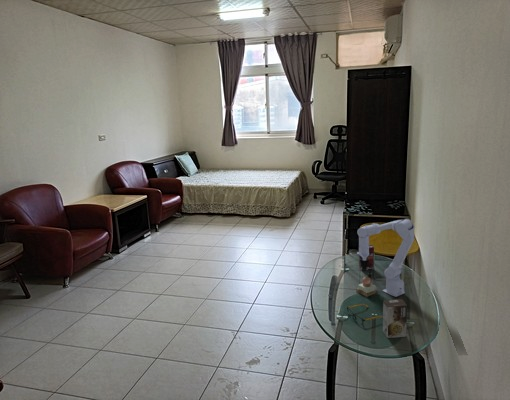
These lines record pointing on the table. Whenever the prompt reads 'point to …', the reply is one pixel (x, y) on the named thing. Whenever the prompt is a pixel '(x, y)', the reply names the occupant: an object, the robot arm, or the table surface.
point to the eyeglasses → (358, 316)
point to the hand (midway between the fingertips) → (363, 267)
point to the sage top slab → (367, 288)
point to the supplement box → (370, 257)
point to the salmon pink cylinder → (366, 281)
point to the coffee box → (394, 318)
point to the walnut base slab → (365, 292)
